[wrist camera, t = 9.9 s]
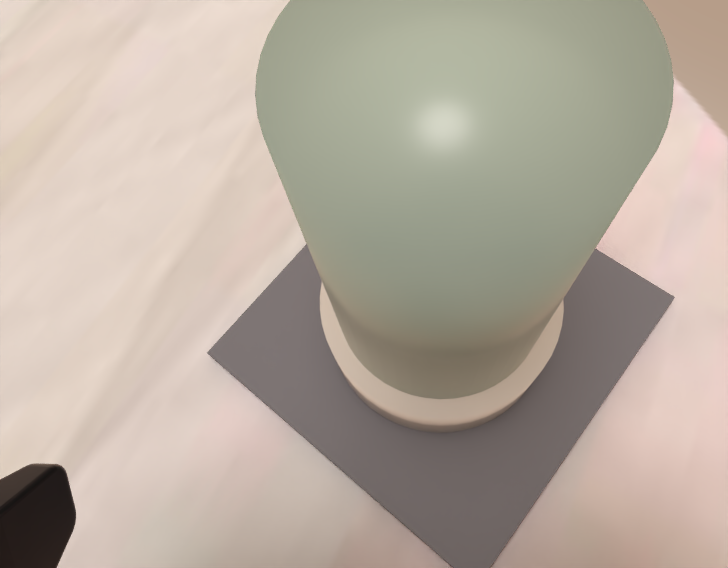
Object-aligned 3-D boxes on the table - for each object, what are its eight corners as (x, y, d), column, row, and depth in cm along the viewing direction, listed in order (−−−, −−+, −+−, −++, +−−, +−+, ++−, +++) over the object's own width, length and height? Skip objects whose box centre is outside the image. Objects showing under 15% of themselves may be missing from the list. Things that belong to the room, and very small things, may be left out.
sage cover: (584, 279, 18) (752, 25, 9) (461, 444, 17) (512, 345, 7) (419, 175, 20) (418, -121, 11) (296, 313, 19) (174, 106, 9)
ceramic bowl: (586, 307, 21) (612, 273, 18) (460, 481, 19) (467, 473, 16) (417, 197, 23) (417, 152, 20) (290, 343, 21) (270, 315, 19)
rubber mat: (670, 301, 21) (675, 297, 21) (475, 586, 18) (476, 588, 18) (407, 139, 25) (407, 134, 24) (210, 355, 22) (207, 352, 22)
